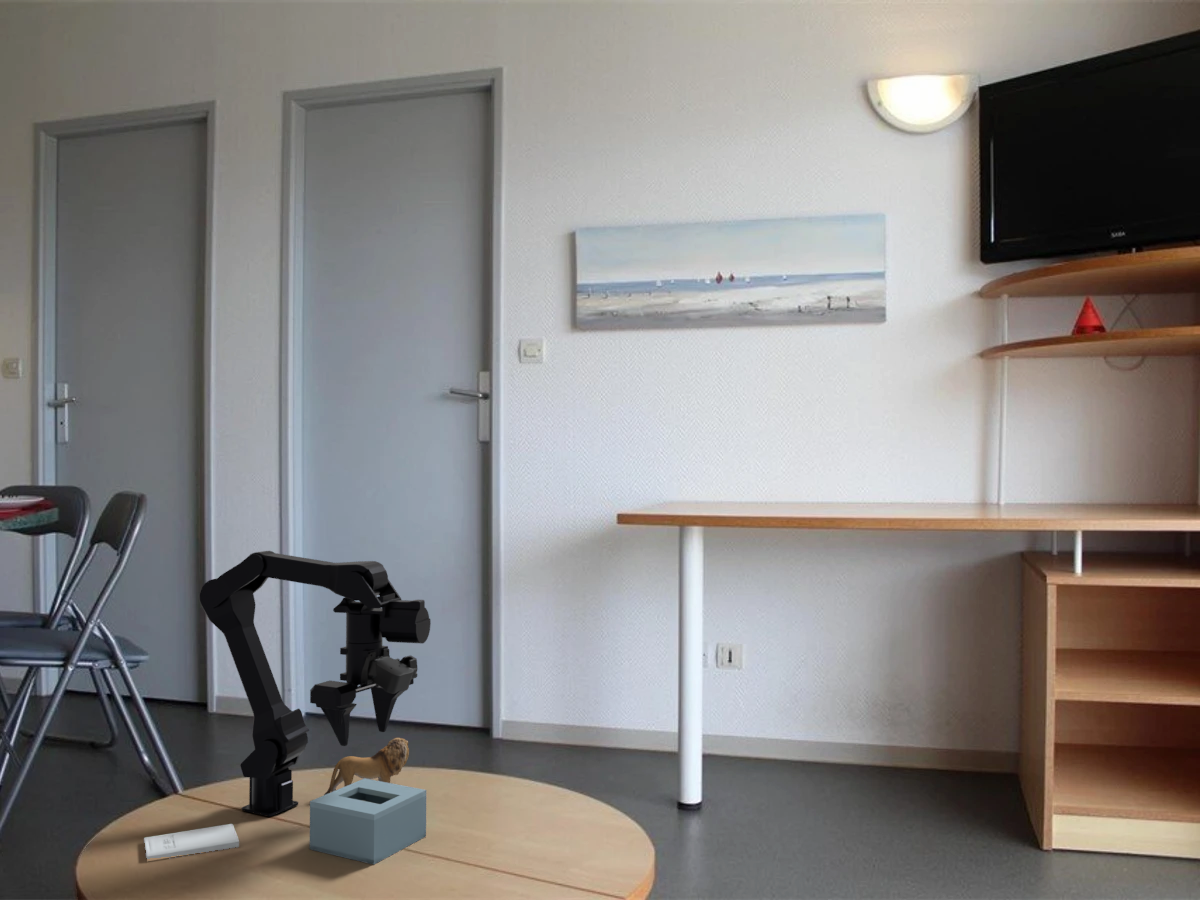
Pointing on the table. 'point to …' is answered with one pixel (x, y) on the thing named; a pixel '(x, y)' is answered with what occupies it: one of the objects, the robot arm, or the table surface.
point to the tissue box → (367, 820)
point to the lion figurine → (372, 765)
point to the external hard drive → (191, 841)
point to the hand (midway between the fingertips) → (363, 738)
